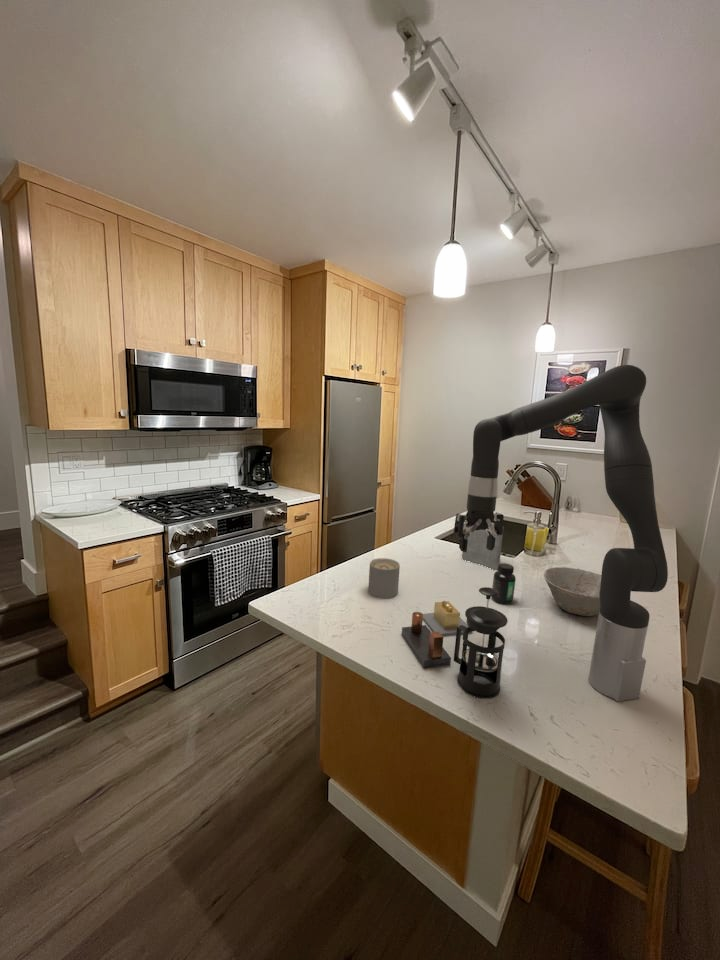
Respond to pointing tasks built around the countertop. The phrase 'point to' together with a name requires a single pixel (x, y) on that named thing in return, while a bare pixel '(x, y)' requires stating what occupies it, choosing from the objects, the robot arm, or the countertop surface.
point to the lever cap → (446, 614)
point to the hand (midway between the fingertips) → (476, 550)
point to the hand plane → (425, 643)
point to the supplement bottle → (504, 584)
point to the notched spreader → (483, 549)
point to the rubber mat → (436, 626)
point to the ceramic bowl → (575, 589)
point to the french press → (481, 649)
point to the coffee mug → (383, 578)
